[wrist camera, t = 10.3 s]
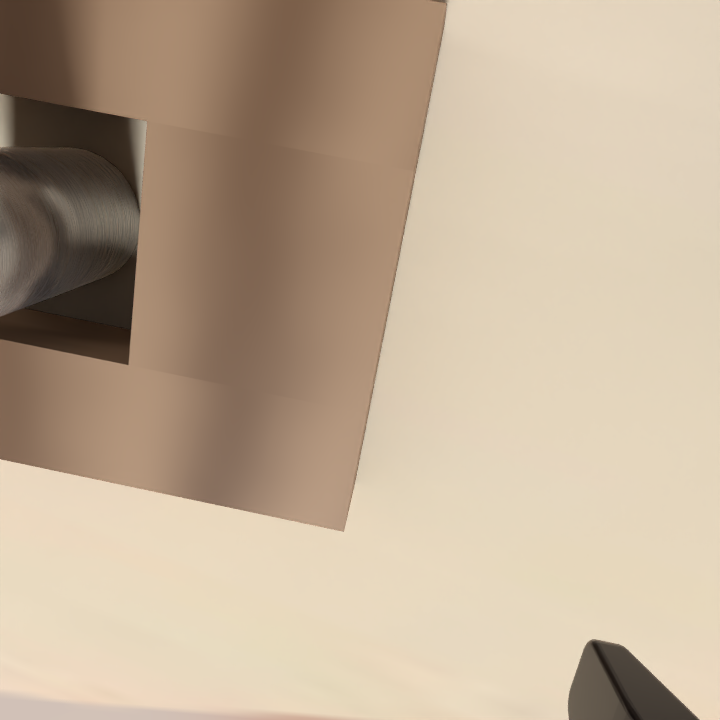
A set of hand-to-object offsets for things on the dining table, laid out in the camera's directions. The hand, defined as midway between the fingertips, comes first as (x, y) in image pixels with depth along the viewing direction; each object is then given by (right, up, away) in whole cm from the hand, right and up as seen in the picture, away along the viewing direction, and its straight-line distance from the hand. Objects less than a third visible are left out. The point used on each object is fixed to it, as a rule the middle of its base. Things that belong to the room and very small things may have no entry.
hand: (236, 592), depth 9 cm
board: (-7, +7, +12) cm, 16 cm away
